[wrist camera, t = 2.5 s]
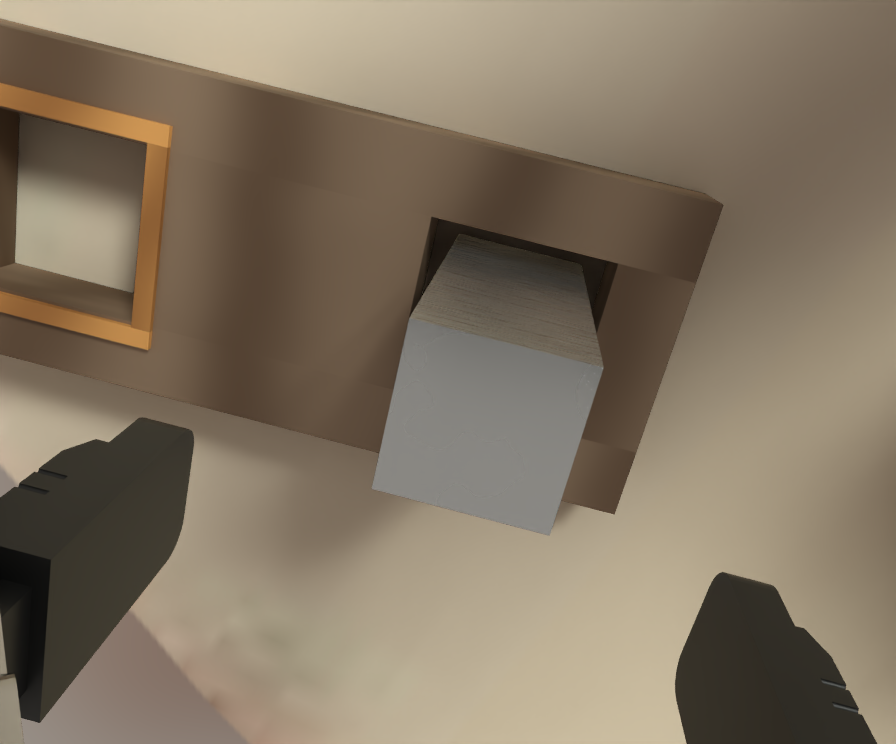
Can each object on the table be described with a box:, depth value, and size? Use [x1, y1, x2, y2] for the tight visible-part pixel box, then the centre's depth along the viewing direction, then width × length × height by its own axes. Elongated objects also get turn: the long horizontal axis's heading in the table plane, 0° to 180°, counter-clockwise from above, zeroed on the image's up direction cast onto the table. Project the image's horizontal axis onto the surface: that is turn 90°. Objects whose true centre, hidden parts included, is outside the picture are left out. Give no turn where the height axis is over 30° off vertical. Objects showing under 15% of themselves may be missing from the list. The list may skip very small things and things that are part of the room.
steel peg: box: [372, 233, 604, 536], centre depth 21 cm, size 4×4×10 cm
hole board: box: [0, 19, 723, 514], centre depth 25 cm, size 24×10×3 cm, turn 77°
